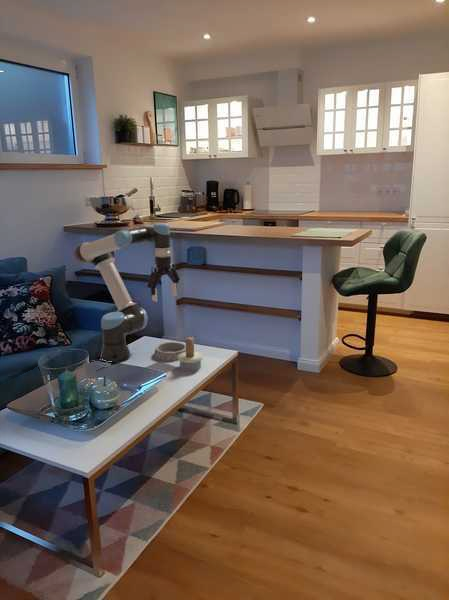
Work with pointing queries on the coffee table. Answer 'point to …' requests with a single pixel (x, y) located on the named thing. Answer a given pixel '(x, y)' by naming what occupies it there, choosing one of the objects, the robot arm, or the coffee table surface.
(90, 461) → the coffee table surface
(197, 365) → the bowl
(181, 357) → the cover
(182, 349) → the dog bowl
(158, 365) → the mat
